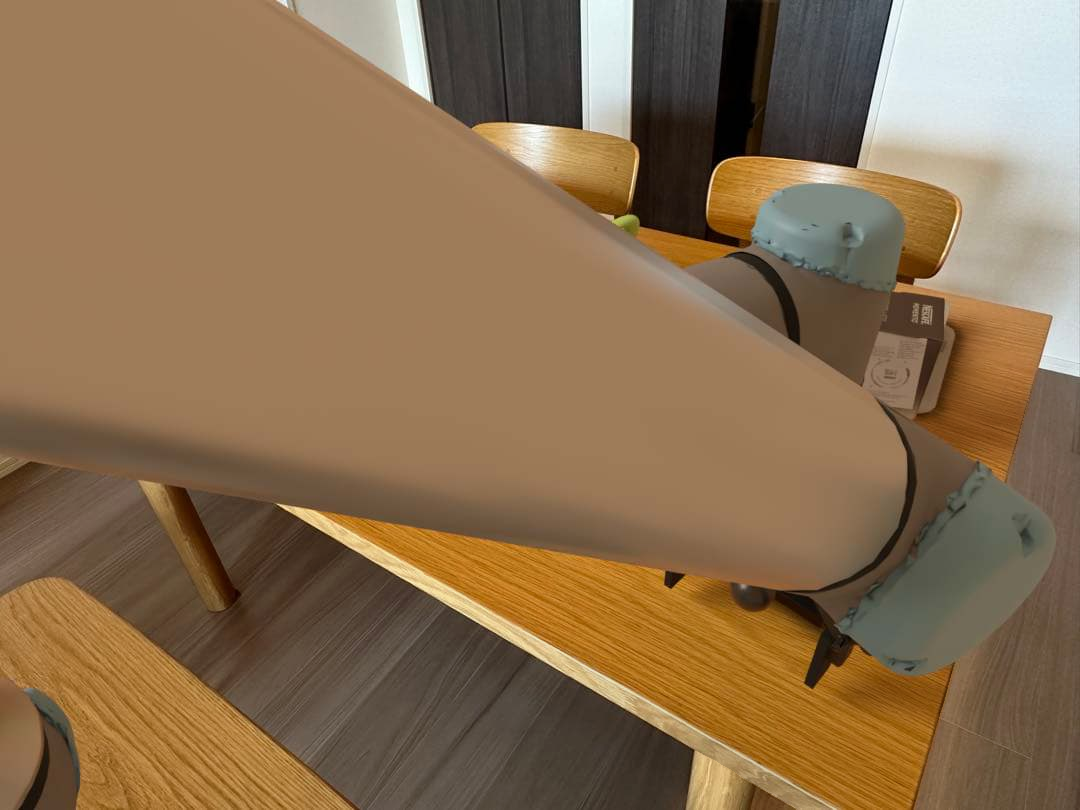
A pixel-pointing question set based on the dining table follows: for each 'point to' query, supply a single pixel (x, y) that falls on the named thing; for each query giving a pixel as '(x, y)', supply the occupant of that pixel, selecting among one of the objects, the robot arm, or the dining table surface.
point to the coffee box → (906, 351)
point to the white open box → (938, 367)
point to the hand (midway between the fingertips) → (741, 623)
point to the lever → (752, 597)
